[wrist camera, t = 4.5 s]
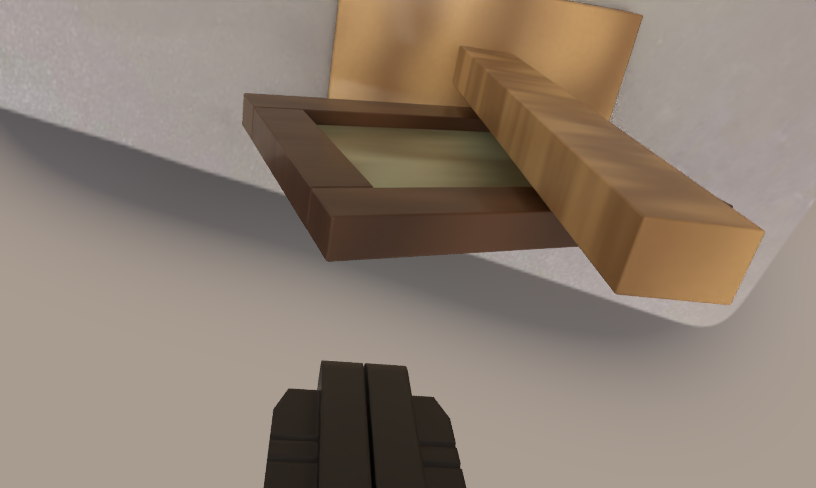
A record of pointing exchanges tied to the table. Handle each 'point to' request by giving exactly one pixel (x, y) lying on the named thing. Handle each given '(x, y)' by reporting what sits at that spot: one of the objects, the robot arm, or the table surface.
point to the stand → (554, 128)
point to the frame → (398, 178)
